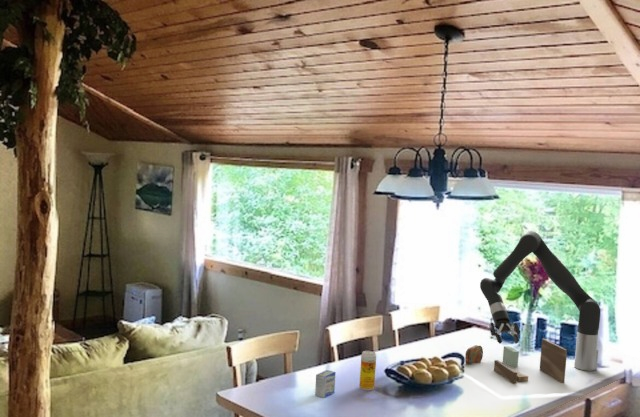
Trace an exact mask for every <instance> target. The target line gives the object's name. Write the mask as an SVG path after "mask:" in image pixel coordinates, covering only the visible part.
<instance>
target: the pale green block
mask: <svg viewBox="0 0 640 417" xmlns="http://www.w3.org/2000/svg"><path fill="white" fill-rule="evenodd" d="M519 354H520V351H518V350H517V349H515V348H514V347H512V346H509V345H504V346H503V352H502V363H505V364H506V365H509V367H519V366H518V365H519Z"/></svg>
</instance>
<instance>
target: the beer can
mask: <svg viewBox="0 0 640 417" xmlns="http://www.w3.org/2000/svg"><path fill="white" fill-rule="evenodd" d="M360 358H361V359H360V369H359V370H360V371H359V372H360V373H359V388H360V390H363V391H369V392H370V391H373V390H374V388H375V381H376V380H375V379H376V367H377V354H376V352H375V351H372V350H364V351H362V353H361V355H360Z"/></svg>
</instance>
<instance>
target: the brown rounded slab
mask: <svg viewBox="0 0 640 417" xmlns="http://www.w3.org/2000/svg"><path fill="white" fill-rule="evenodd" d="M483 350H484V348H483V347H482V346H481V345H478V344H477V345H473V346H471V347H468V348H467V350H466V351H465V357H464V358H465V364H466V365H470V366H471V365H472V364H480V363H481V362H482V360H483V357H484V351H483Z"/></svg>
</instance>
